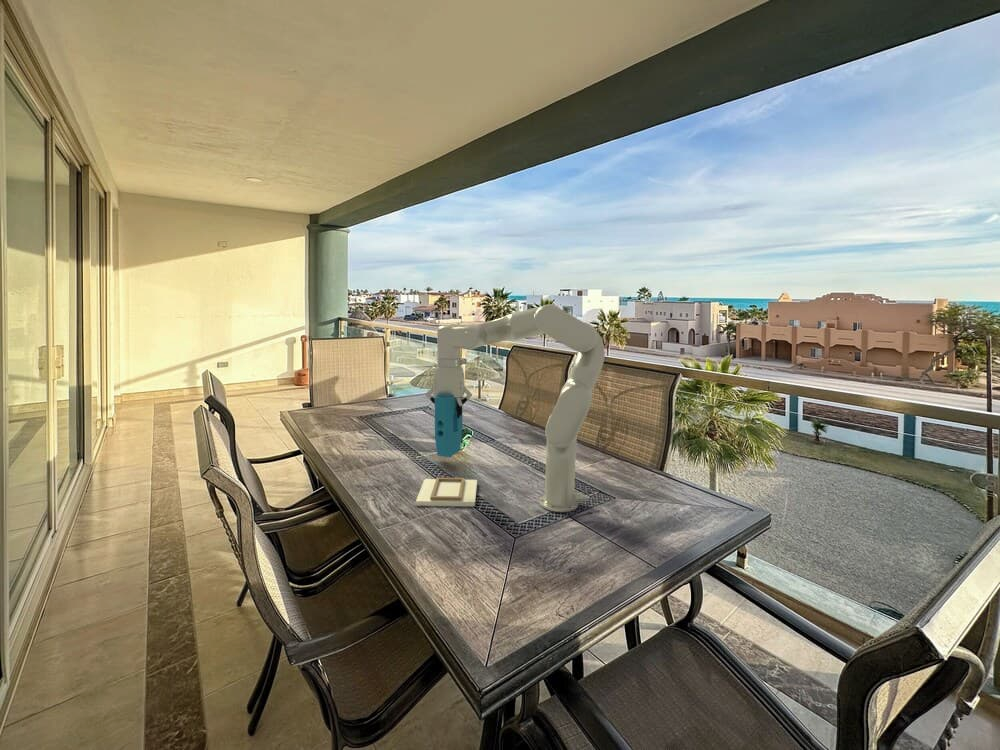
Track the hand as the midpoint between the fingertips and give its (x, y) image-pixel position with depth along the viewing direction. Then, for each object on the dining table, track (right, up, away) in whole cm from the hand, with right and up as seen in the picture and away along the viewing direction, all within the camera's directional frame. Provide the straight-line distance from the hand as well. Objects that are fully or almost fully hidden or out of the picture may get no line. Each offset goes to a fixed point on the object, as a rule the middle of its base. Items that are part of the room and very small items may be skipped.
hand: (448, 416), depth 154 cm
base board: (-1, -27, +4) cm, 27 cm away
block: (0, -13, +2) cm, 13 cm away
